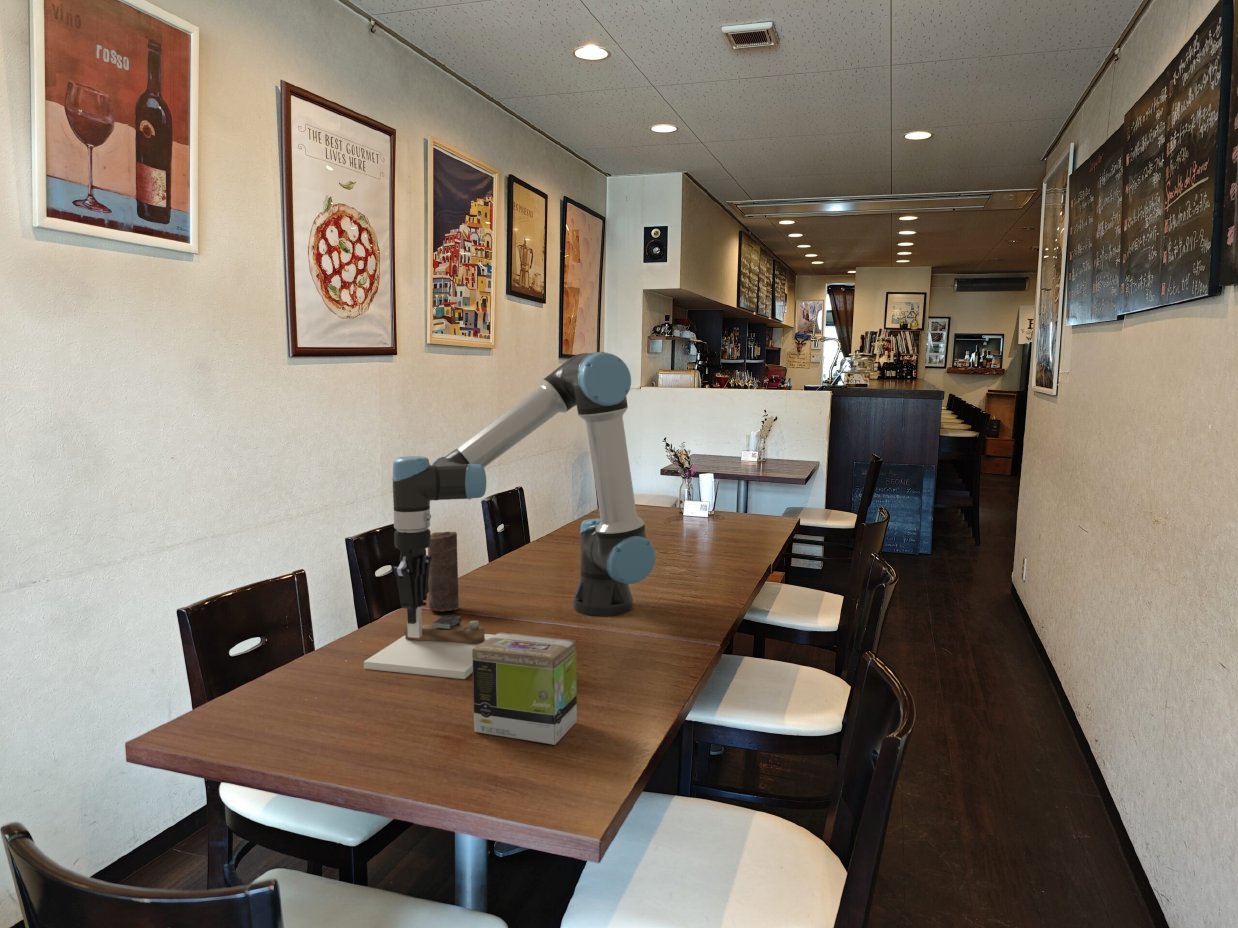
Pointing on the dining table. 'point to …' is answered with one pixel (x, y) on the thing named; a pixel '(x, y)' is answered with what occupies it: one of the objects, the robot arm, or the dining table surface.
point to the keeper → (447, 622)
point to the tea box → (525, 687)
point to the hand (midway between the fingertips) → (415, 636)
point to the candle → (443, 572)
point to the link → (452, 633)
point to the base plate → (426, 658)
